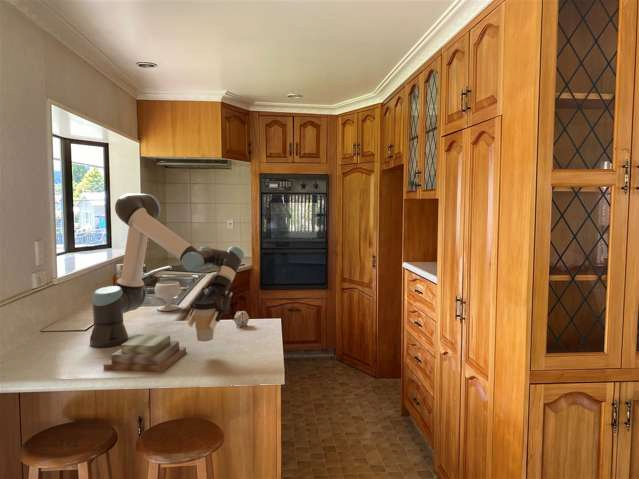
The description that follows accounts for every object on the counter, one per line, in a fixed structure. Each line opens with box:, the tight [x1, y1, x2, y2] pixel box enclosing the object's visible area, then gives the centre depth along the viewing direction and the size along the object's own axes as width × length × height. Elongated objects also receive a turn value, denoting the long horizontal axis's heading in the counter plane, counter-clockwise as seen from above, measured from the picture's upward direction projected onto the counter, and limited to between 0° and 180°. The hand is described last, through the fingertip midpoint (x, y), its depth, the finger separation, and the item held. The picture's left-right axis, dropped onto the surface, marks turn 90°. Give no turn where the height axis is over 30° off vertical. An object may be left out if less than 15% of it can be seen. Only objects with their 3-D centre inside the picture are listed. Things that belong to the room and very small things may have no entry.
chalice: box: [154, 280, 182, 312], centre depth 260 cm, size 14×14×15 cm
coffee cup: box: [193, 299, 218, 342], centre depth 182 cm, size 9×9×15 cm
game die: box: [232, 309, 252, 328], centre depth 224 cm, size 9×8×10 cm
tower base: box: [103, 334, 187, 373], centre depth 177 cm, size 22×22×8 cm
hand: (200, 326), depth 179 cm, fingers closed on coffee cup, 9 cm apart
